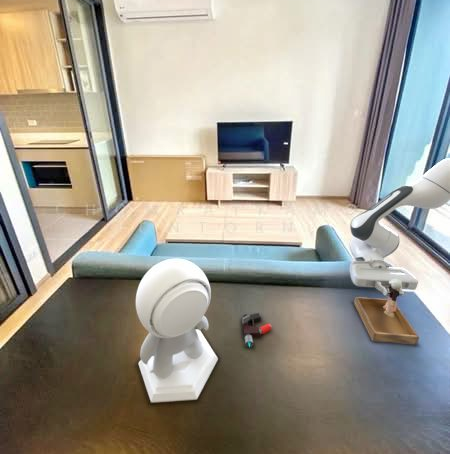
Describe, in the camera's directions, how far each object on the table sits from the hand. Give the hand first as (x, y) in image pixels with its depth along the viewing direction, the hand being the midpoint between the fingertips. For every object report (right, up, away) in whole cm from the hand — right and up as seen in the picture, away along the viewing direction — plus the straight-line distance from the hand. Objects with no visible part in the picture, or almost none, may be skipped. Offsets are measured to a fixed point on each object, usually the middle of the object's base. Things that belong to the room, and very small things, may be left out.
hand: (394, 294), depth 79 cm
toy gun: (-44, -14, +3) cm, 46 cm away
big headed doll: (-68, -17, -6) cm, 70 cm away
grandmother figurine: (0, -7, +4) cm, 8 cm away
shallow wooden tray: (0, -12, +6) cm, 14 cm away
